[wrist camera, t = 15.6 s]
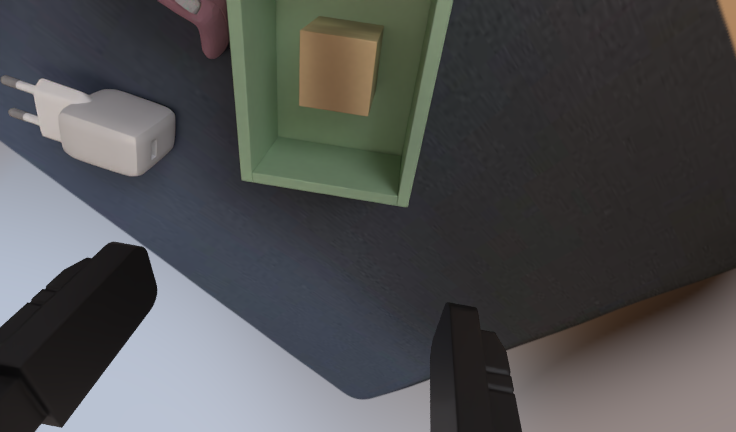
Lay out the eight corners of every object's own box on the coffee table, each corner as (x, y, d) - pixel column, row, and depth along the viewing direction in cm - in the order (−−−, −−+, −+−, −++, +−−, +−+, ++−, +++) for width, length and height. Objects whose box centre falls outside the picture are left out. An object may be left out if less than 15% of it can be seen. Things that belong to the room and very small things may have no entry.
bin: (458, -73, 23) (470, -76, 17) (409, 162, 32) (407, 207, 27) (263, -102, 23) (216, -114, 18) (270, 140, 32) (241, 180, 27)
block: (384, 25, 26) (377, 41, 22) (375, 91, 28) (368, 117, 24) (318, 15, 26) (299, 30, 22) (315, 82, 28) (298, 106, 24)
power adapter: (47, 109, 33) (-16, 138, 28) (37, 51, 30) (-36, 73, 25) (178, 154, 34) (138, 189, 29) (180, 102, 31) (137, 132, 26)
